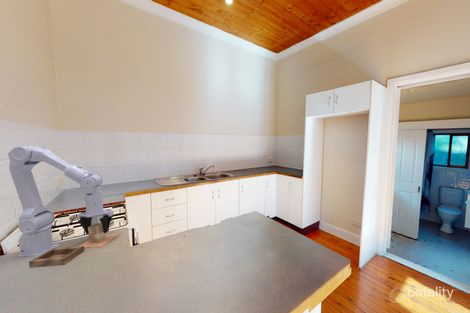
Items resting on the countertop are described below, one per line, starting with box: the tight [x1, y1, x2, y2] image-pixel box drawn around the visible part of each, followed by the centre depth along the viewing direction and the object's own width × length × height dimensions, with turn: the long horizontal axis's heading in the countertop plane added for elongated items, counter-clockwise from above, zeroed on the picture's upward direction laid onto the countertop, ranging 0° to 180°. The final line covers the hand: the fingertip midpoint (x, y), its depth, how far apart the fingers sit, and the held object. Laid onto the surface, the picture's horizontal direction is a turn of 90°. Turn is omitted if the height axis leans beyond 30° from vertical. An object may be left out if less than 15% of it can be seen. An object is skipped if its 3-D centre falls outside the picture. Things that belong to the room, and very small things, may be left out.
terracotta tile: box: [77, 233, 120, 249], centre depth 80 cm, size 11×11×1 cm
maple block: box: [88, 223, 106, 243], centre depth 80 cm, size 4×4×7 cm
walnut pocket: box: [28, 245, 85, 268], centre depth 68 cm, size 12×8×2 cm
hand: (97, 232), depth 80 cm, fingers open, 7 cm apart
